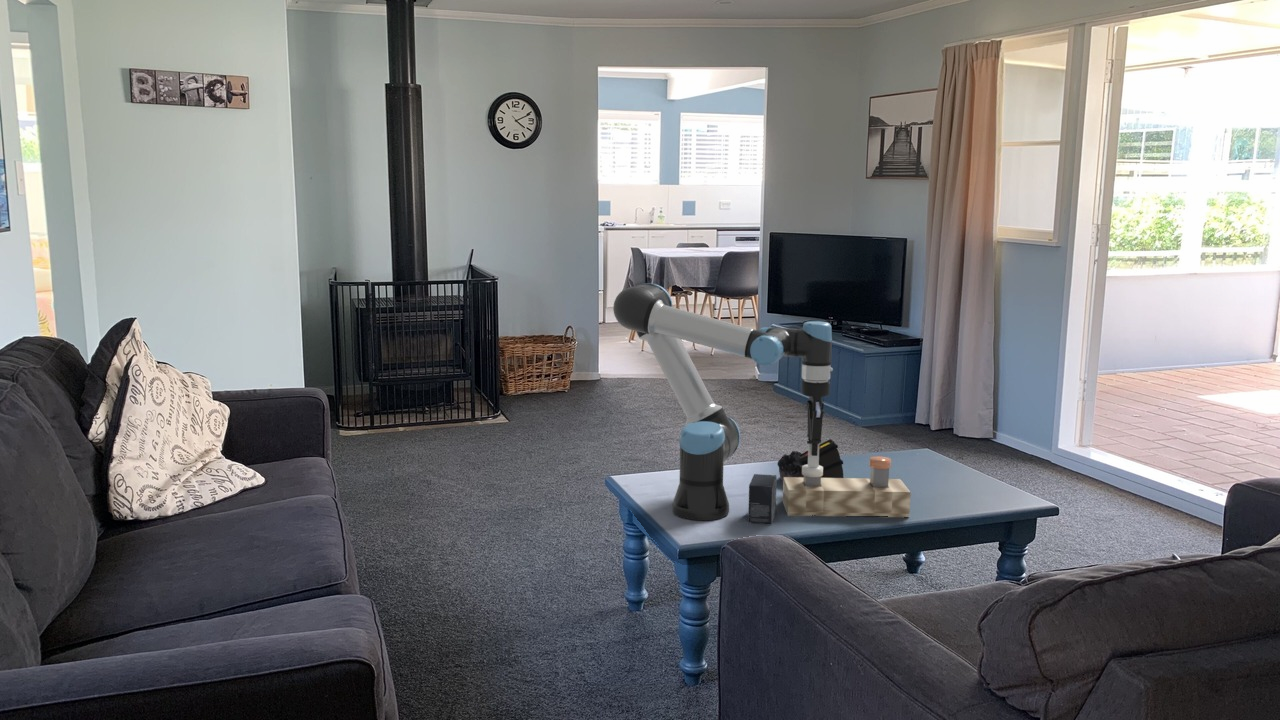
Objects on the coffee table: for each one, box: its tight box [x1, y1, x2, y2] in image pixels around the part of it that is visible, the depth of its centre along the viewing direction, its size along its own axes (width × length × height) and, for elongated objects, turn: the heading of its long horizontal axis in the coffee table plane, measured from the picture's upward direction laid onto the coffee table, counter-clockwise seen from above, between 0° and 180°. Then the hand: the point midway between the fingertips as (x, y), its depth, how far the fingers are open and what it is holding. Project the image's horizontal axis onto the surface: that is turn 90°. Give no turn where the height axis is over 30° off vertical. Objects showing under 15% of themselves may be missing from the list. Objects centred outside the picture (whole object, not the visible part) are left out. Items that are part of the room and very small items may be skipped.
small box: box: [748, 473, 777, 526], centre depth 255 cm, size 11×6×10 cm, turn 166°
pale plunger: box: [802, 464, 823, 487], centre depth 262 cm, size 6×6×8 cm
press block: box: [782, 477, 912, 518], centre depth 262 cm, size 32×12×7 cm, turn 88°
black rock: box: [777, 450, 804, 482], centre depth 289 cm, size 13×14×10 cm
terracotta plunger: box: [868, 455, 892, 488], centre depth 261 cm, size 6×6×8 cm
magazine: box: [798, 438, 845, 478], centre depth 278 cm, size 4×13×15 cm, turn 99°
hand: (813, 466), depth 261 cm, fingers closed
